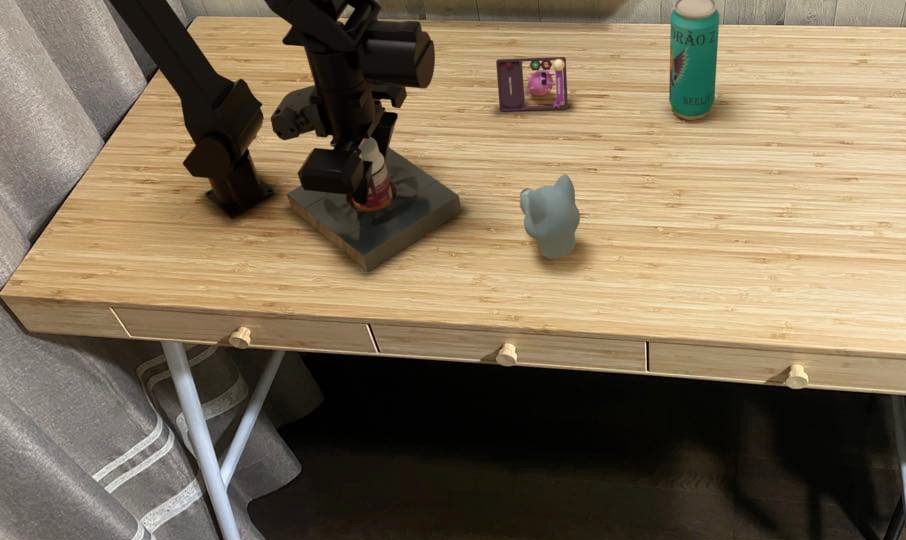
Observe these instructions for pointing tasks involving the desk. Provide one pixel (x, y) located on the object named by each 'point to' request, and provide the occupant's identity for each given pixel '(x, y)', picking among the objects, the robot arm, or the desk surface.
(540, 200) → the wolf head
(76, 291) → the desk surface
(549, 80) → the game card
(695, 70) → the beverage can
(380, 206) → the pill bottle
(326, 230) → the grey square slab
